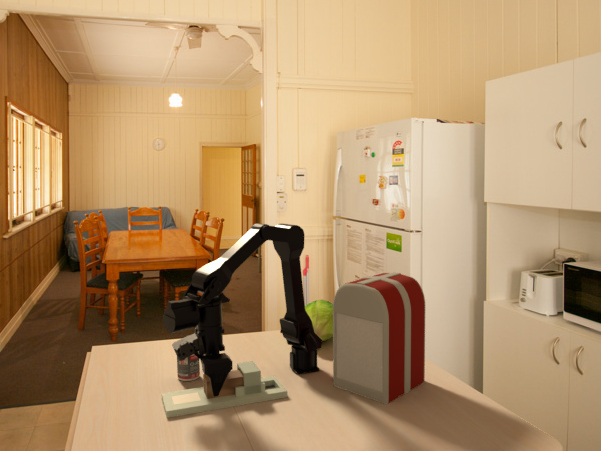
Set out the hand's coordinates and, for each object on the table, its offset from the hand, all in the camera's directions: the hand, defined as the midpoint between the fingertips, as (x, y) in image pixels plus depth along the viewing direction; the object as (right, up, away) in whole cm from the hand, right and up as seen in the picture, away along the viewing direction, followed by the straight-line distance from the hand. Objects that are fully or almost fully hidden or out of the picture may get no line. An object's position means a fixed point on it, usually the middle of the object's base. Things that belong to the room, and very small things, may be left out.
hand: (211, 388), depth 125 cm
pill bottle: (-8, -2, +14) cm, 17 cm away
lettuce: (+26, +2, +42) cm, 50 cm away
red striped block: (+41, -2, +9) cm, 41 cm away
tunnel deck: (+3, -3, +1) cm, 4 cm away
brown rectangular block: (+4, -1, +2) cm, 5 cm away
